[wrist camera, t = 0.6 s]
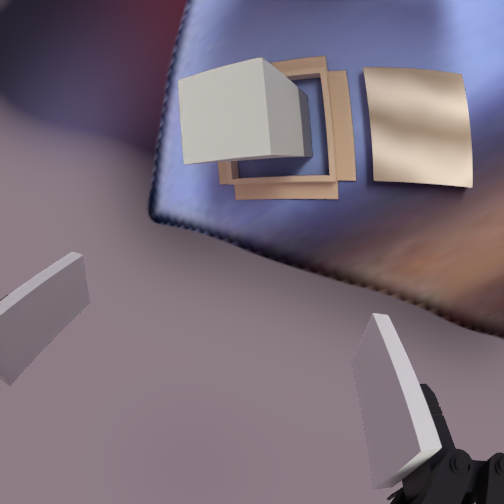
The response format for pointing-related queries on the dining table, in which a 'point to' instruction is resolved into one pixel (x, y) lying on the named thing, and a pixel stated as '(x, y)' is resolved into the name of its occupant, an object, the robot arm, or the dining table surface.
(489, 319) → the dining table surface
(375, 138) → the birch board
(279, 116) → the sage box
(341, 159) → the tan square frame
